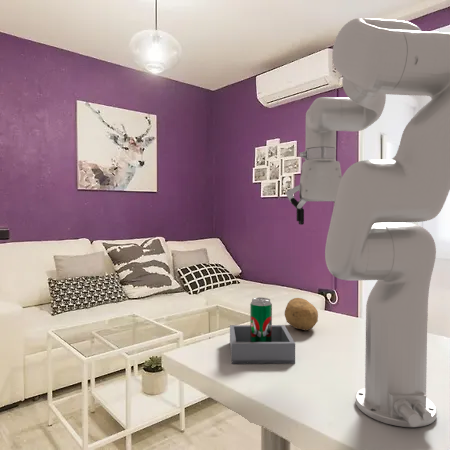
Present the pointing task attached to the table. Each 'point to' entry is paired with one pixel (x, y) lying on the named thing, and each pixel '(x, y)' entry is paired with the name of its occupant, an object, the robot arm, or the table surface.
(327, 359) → the table surface
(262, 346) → the bin
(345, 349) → the table surface
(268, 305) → the soda can
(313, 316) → the potato
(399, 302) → the robot arm
